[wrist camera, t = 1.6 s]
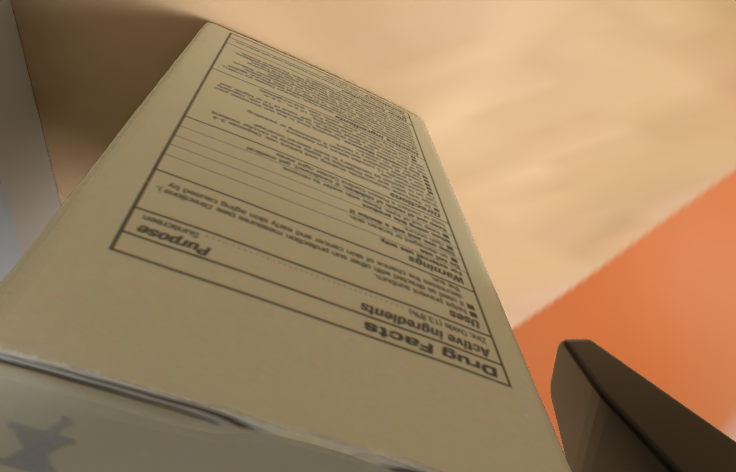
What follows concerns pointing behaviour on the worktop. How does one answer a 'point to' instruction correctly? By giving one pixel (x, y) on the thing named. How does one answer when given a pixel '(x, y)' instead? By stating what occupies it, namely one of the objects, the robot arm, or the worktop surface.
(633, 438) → the robot arm
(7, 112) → the holder
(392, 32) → the worktop surface
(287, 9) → the worktop surface
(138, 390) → the skincare box
